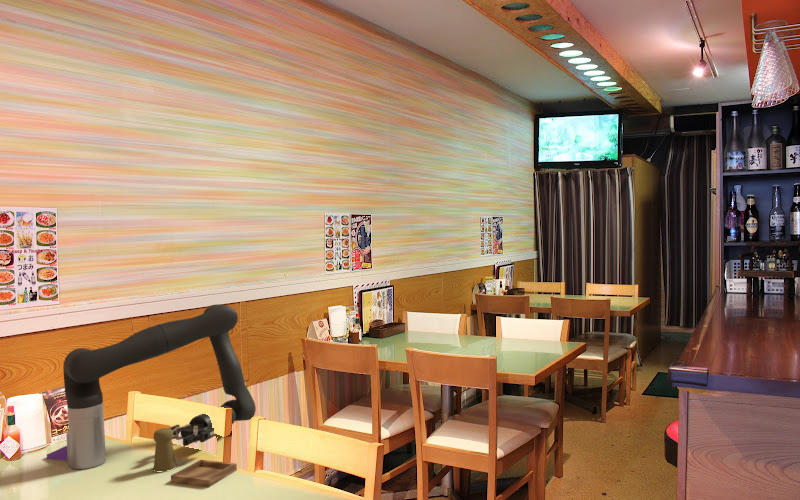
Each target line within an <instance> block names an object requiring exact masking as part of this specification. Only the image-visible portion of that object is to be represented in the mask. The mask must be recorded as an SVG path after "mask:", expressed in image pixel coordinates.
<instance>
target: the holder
mask: <svg viewBox="0 0 800 500" xmlns="http://www.w3.org/2000/svg"><path fill="white" fill-rule="evenodd" d="M237 466H238V465H237V463H235V462H224V461H217V460H216V461H215V460H208V459H207V460H206V459H199V460H197V461H196V462H194V463H192V464H190V465H188V466H186V467H185V468H183V469H181V470H179V471H177V472H175V473H174V474H171V475H170V482H171V483H173V484H179V485H180V484H181V485H189V486H196V487H203V488H205V487H206V488H210V487H212V486H213V485H215V484H216V483H218V482H220V481H221V480H223V479H225V478H227V477H228V476H230V475H231V474H233V473H235V472H236V471H237V470H238V467H237Z"/></svg>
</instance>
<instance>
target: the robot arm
mask: <svg viewBox="0 0 800 500" xmlns="http://www.w3.org/2000/svg"><path fill="white" fill-rule="evenodd" d="M238 321H239V316H238V312H237V311H236V309H235V308H234V307H232V306H229V305H227V304H211V305H210V306H207V308H205V309H204V311H203V313H202V314H199V315H197V316H196V315H195V316H193V317H190V318H185V319H178V320H171V321H167V322H162V323H159V324H156V325H153V326H149V327H147V328H144V329H141V330H139V331H137V332H136V333H134V334H132V335H129V336H128V337H127V338H125V339H123V340H122V341H119V342H117V343H114V344H112V345H107V346H105V347H104V346H103V347H100V348H97V349H89V348H85V347H80V348H76V349H72V351H70V352H69V353H68V354H67V355H66V357H65V358H64V361H63V365H62V367H63V370H62V371H63V379H64V381H63V383H64V394H65V399H66V404H67V405H66V407H67V423H68V424H67V425H68V426H67V427H68V431H67V432H66V434H65V435H66V446H67V456H68V460H67V466H69V467H70V468H72V469H73V470H74V469H75V470H83V469H91V468H94V467H98V466H101V465H103V464H104V463H106V461H107V454H106V453H107V452H106V432H105V415H104V398H103V395H104V394H103V391H102V388H101V384H100V378H103V377H105V376H107V375H109V374H111V373H113V372H116V371H117V370H120V369H122V368H125V367H128V366H131V365H136V364H138V363H143V362H145V361H148V360H151V359H153V358H157V357H160V356H162V355H165V354H169V353H170V352H173V351H175V350H177V349H180V348H183V347H185V346H187V345H189V344H193V343H194V342H196V341H200V340H202V339H205V338H208V339H209V340H210V344H211V347H212V349H213V351H214V355H215V359H216V362H217V366H218V370H219V375H220V380H221V385H222V389H223V391H224V393H225V395H228V396H232V397H234V398H235V399H229V400H227V401H225V402H223V403H222V405H220V406H219V407H224V408H232V425H233V424H234V423H235V422H239V421H240V422H241V421H250V420H251V418H252V417H253V418H254V416H255V415H256V409H257V408H256V403H255V400H254V398H253V397H252V395H251V392H250V391H249V389H248V387H247V386H246V383H245V377H244V374H243V369H242V366H241V363H240V361H239V359H238V356H237V354H236V352H235V350H234V348H233V345H232V342H231V338H230V331H232V330H233V329H234V328H235V327H236V325H237V323H238ZM253 418H252V419H253ZM169 428H170V429H171V430H172V431H173V438H172V440H177V441H179V440H182V446H184V447H186V446H187V447H188V446H190V445H191V444H193V443H195V444H197V443H204V442H206V441H208V440H211V439H212V438H214V437H215V435H214V428H212V423H211V420H210V417H209V416H208V415H206V414H203V413H201V414H198V415H196V416H194V417H192V419H190V420H189V423H188V424H185V425H182V426H181V425H180V424H176V425H175V424H174V425H172V426H170V427H169ZM179 434H180V436H179Z"/></svg>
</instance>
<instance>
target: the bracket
mask: <svg viewBox="0 0 800 500" xmlns="http://www.w3.org/2000/svg"><path fill="white" fill-rule="evenodd" d="M46 459H48V460H61V461H62V460H63V461H68V456H67V445H65V446H63V447H61V448H59V449H58V448H57V450H54V451H52V452H48V453H47V454H46Z"/></svg>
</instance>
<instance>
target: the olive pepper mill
mask: <svg viewBox="0 0 800 500" xmlns="http://www.w3.org/2000/svg"><path fill="white" fill-rule="evenodd" d="M172 438H173V431H172V430H171V429H170V427H163V428H158V429H156V430H155V431H154V433H153V440H154V442H155V450H154V451H155V452H154V462H153V471H154V470H155V471H167V470H171V469H173V468H175V467H176V468H177V461H176V456H175V451H174V446H173V441H172V440H173V439H172ZM176 468H175V469H176ZM173 470H174V469H173ZM155 471H154V472H155ZM171 471H172V470H171ZM167 472H168V471H167Z"/></svg>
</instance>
